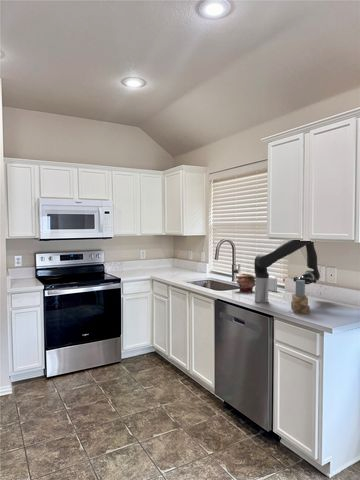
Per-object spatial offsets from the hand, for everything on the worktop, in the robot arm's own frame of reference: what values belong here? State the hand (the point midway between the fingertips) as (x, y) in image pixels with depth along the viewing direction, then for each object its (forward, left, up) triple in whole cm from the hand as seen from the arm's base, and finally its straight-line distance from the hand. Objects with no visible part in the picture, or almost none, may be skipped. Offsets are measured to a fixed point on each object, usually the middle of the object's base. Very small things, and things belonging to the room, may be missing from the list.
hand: (302, 281), depth 227 cm
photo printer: (-16, +58, -18) cm, 63 cm away
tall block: (-3, -10, -8) cm, 13 cm away
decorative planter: (-35, +48, -18) cm, 62 cm away
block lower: (-3, -10, -18) cm, 21 cm away
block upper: (-3, -10, -13) cm, 17 cm away
